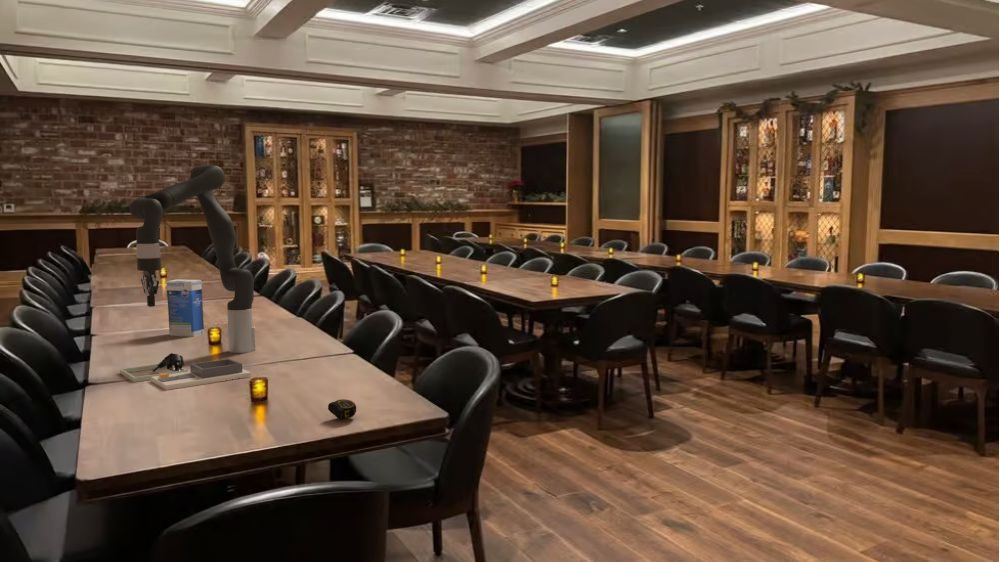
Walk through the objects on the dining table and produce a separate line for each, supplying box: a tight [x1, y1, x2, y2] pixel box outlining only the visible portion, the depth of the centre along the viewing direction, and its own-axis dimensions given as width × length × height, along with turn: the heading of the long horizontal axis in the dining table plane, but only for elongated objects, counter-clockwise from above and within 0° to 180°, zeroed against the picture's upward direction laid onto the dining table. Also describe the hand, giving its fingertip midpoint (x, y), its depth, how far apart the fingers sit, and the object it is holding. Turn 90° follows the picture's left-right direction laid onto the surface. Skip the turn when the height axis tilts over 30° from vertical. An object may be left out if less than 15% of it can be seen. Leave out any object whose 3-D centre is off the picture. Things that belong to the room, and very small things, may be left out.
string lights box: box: [166, 279, 205, 338], centre depth 328 cm, size 13×8×26 cm, turn 74°
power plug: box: [152, 352, 185, 372], centre depth 258 cm, size 6×8×12 cm
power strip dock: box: [150, 358, 252, 391], centre depth 250 cm, size 28×16×4 cm, turn 131°
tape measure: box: [327, 398, 357, 420], centre depth 204 cm, size 7×7×4 cm
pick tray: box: [119, 363, 189, 383], centre depth 258 cm, size 18×18×2 cm
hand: (151, 306), depth 255 cm, fingers closed
